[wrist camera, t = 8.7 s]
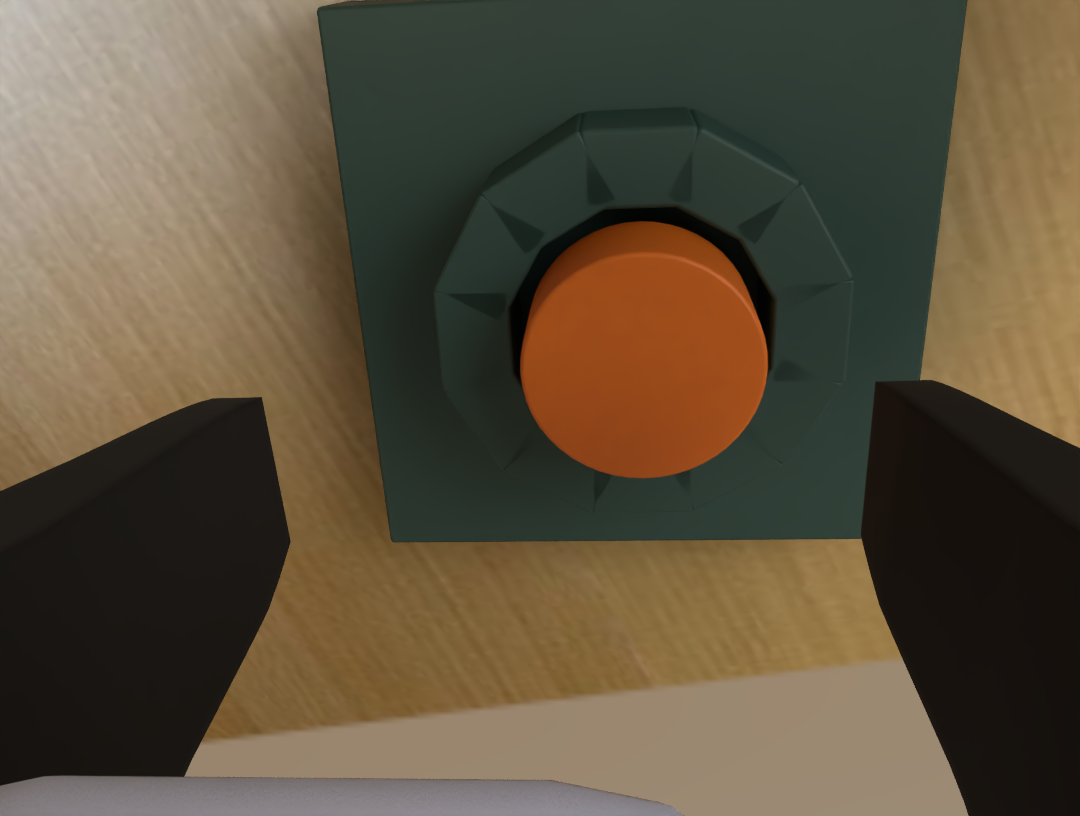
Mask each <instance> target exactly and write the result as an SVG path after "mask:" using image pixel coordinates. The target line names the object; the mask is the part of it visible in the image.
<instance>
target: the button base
mask: <svg viewBox="0 0 1080 816" xmlns="http://www.w3.org/2000/svg"><path fill="white" fill-rule="evenodd" d="M966 7H967V0H366V1H348V2H341V3H336V4H332V5H327V6H322V7H320V8H318V10H317V16H318V23H319V30H320V37H321V45H322V52H323V59H324V66H325V73H326V80H327V87H328V95H329V102H330V109H331V116H332V123H333V130H334V137H335V145H336V152H337V159H338V166H339V173H340V180H341V187H342V195H343V202H344V209H345V216H346V223H347V230H348V237H349V245H350V252H351V259H352V266H353V273H354V280H355V287H356V295H357V302H358V309H359V316H360V323H361V330H362V337H363V345H364V352H365V359H366V366H367V373H368V380H369V387H370V395H371V402H372V409H373V416H374V423H375V430H376V437H377V444H378V452H379V459H380V466H381V473H382V480H383V487H384V494H385V502H386V509H387V516H388V523H389V530H390V537H391V541H392V542H507V541H637V540H767V539H862V538H861V525H862V515H863V505H864V494H865V484H866V474H867V463H868V453H869V443H870V433H871V422H872V412H873V402H874V392H875V382H876V381H915V380H920V375H921V367H922V359H923V351H924V343H925V335H926V327H927V319H928V311H929V303H930V295H931V287H932V279H933V271H934V263H935V255H936V247H937V239H938V231H939V223H940V215H941V207H942V199H943V191H944V183H945V175H946V167H947V159H948V151H949V143H950V135H951V127H952V119H953V111H954V103H955V95H956V87H957V79H958V71H959V63H960V55H961V47H962V39H963V31H964V23H965V15H966ZM637 221H646V222H659V223H665V224H671V225H674V226H677V227H681V228H684V229H686V230H689V231H691V232H693V233H695V234H698V235H699V236H701V237H703V238H704V239H706V240H707V241H709V242H711V243H712V244H713V245H714V246H715V247H717V248H718V249H719V250H720V251H722V252H723V253H724V255H725V256H726V257H727V258H728V259H729V260H730V261H731V262H732V264H733V265H734V266H735V268H736V269H737V271H738V272H739V274H740V275H741V277H742V280H743V282H744V284H745V286H746V288H747V290H748V293H749V295H750V298H751V300H752V303H753V306H754V308H755V311H756V313H757V316H758V318H759V321H760V323H761V326H762V330H763V333H764V336H765V340H766V346H767V352H768V371H767V379H766V385H765V388H764V392H763V396H762V399H761V401H760V403H759V406H758V408H757V410H756V412H755V414H754V415H753V417H752V419H751V421H750V422H749V424H748V425H747V426H746V428H745V429H744V430H743V431H742V433H741V434H740V435H739V436H738V437H737V438H736V439H735V440H734V441H733V442H732V443H731V444H730V445H729V446H728V447H727V448H726V449H724V450H723V451H722V452H721V453H719V454H718V455H717V456H715V457H713V458H712V459H710V460H708V461H707V462H705V463H703V464H701V465H699V466H697V467H694V468H692V469H690V470H687V471H684V472H681V473H677V474H674V475H669V476H663V477H656V478H628V477H621V476H615V475H611V474H607V473H604V472H600V471H597V470H595V469H593V468H590V467H588V466H585V465H584V464H582V463H580V462H578V461H576V460H575V459H573V458H571V457H570V456H569V455H567V454H566V453H565V452H563V451H562V450H560V449H559V448H558V447H557V446H556V445H555V444H554V443H553V442H552V441H551V440H550V439H549V438H548V437H547V436H546V434H545V433H544V432H543V431H542V429H541V428H540V427H539V425H538V424H537V422H536V420H535V419H534V417H533V415H532V413H531V411H530V409H529V407H528V404H527V402H526V399H525V395H524V392H523V388H522V382H521V374H520V358H521V351H522V344H523V339H524V335H525V331H526V326H527V322H528V317H529V313H530V308H531V305H532V301H533V298H534V294H535V292H536V290H537V287H538V285H539V283H540V281H541V279H542V278H543V276H544V274H545V273H546V271H547V270H548V268H549V267H550V266H551V265H552V263H553V262H554V261H555V260H556V259H557V257H558V256H559V255H561V254H562V253H563V252H564V251H565V250H566V249H567V248H568V247H570V246H571V245H572V244H574V243H575V242H577V241H578V240H580V239H581V238H583V237H585V236H587V235H589V234H591V233H592V232H594V231H597V230H600V229H603V228H605V227H608V226H612V225H616V224H621V223H627V222H637Z"/></svg>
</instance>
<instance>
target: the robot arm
mask: <svg viewBox="0 0 1080 816" xmlns="http://www.w3.org/2000/svg"><path fill="white" fill-rule="evenodd" d="M861 538H862V542H863V546H864V550H865V554H866V558H867V562H868V566H869V570H870V573H871V577H872V580H873V584H874V588H875V591H876V595H877V598H878V602H879V605H880V607H881V610H882V612H883V614H884V617H885V619H886V622H887V624H888V626H889V629H890V631H891V633H892V635H893V638H894V640H895V642H896V645H897V647H898V649H899V652H900V654H901V656H902V658H903V661H904V663H905V665H906V667H907V670H908V672H909V674H910V676H911V679H912V681H913V683H914V685H915V688H916V690H917V692H918V694H919V697H920V699H921V701H922V703H923V706H924V708H925V710H926V712H927V714H928V717H929V719H930V721H931V723H932V726H933V728H934V730H935V733H936V735H937V737H938V739H939V742H940V744H941V746H942V748H943V751H944V753H945V755H946V757H947V760H948V762H949V764H950V767H951V769H952V772H953V774H954V777H955V779H956V782H957V785H958V787H959V789H960V792H961V795H962V798H963V800H964V803H965V806H966V809H967V812H968V815H969V816H1080V448H1078V447H1076V446H1074V445H1072V444H1070V443H1068V442H1065V441H1063V440H1061V439H1059V438H1057V437H1055V436H1053V435H1051V434H1049V433H1047V432H1045V431H1042V430H1040V429H1038V428H1036V427H1034V426H1032V425H1030V424H1028V423H1026V422H1024V421H1022V420H1020V419H1018V418H1016V417H1014V416H1012V415H1010V414H1008V413H1006V412H1004V411H1002V410H1000V409H998V408H996V407H994V406H992V405H990V404H988V403H985V402H983V401H981V400H979V399H977V398H975V397H973V396H971V395H969V394H966V393H964V392H962V391H960V390H958V389H955V388H953V387H950V386H948V385H945V384H943V383H939V382H936V381H933V380H915V381H876V382H875V392H874V402H873V412H872V422H871V433H870V443H869V453H868V463H867V474H866V484H865V494H864V505H863V515H862V525H861ZM290 542H291V541H290V536H289V531H288V526H287V521H286V516H285V511H284V506H283V501H282V496H281V491H280V486H279V481H278V476H277V471H276V466H275V461H274V456H273V451H272V446H271V441H270V436H269V431H268V426H267V421H266V416H265V411H264V406H263V401H262V397H254V398H215V399H210V400H206V401H202V402H199V403H196V404H193V405H190V406H188V407H185V408H182V409H180V410H178V411H175V412H173V413H170V414H168V415H166V416H164V417H161V418H159V419H157V420H155V421H153V422H150V423H148V424H146V425H144V426H142V427H140V428H138V429H136V430H133V431H131V432H129V433H127V434H125V435H123V436H121V437H119V438H117V439H114V440H112V441H110V442H108V443H106V444H104V445H102V446H100V447H98V448H96V449H93V450H91V451H89V452H87V453H85V454H83V455H81V456H79V457H77V458H74V459H72V460H70V461H68V462H66V463H63V464H61V465H59V466H56V467H54V468H52V469H50V470H47V471H45V472H43V473H41V474H38V475H36V476H34V477H31V478H29V479H27V480H25V481H22V482H20V483H18V484H16V485H13V486H11V487H9V488H7V489H4V490H2V491H0V816H684V815H683V814H681V813H680V812H678V811H677V810H676V809H674V808H673V807H671V806H669V805H666V804H663V803H660V802H655V801H651V800H646V799H641V798H636V797H631V796H627V795H622V794H616V793H612V792H607V791H602V790H597V789H591V788H587V787H582V786H578V785H572V784H567V783H563V782H558V781H553V780H480V779H479V780H478V779H372V778H371V779H370V778H368V779H367V778H262V777H261V778H260V777H259V778H257V777H256V778H255V777H184V776H185V773H186V771H187V769H188V767H189V765H190V762H191V760H192V758H193V756H194V754H195V752H196V751H197V749H198V747H199V745H200V743H201V741H202V739H203V737H204V735H205V733H206V731H207V729H208V727H209V725H210V723H211V721H212V720H213V718H214V716H215V714H216V712H217V710H218V708H219V706H220V704H221V702H222V700H223V698H224V696H225V694H226V692H227V691H228V689H229V687H230V685H231V683H232V681H233V679H234V677H235V675H236V673H237V671H238V669H239V667H240V665H241V663H242V662H243V660H244V658H245V656H246V654H247V652H248V650H249V648H250V646H251V644H252V642H253V640H254V638H255V636H256V634H257V632H258V630H259V628H260V626H261V624H262V622H263V620H264V617H265V615H266V613H267V611H268V609H269V607H270V604H271V601H272V598H273V595H274V592H275V589H276V586H277V584H278V581H279V578H280V574H281V571H282V568H283V565H284V561H285V558H286V555H287V551H288V548H289V545H290Z"/></svg>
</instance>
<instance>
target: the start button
mask: <svg viewBox="0 0 1080 816" xmlns="http://www.w3.org/2000/svg"><path fill="white" fill-rule="evenodd" d="M767 371H768V352H767V346H766V340H765V336H764V333H763V330H762V326H761V323H760V321H759V318H758V316H757V313H756V311H755V308H754V306H753V303H752V300H751V298H750V295H749V293H748V290H747V288H746V286H745V284H744V282H743V280H742V277H741V275H740V274H739V272H738V271H737V269H736V268H735V266H734V265H733V264H732V262H731V261H730V260H729V259H728V258H727V257H726V256H725V255H724V253H723V252H722V251H720V250H719V249H718V248H717V247H715V246H714V245H713V244H712V243H711V242H709V241H707V240H706V239H704V238H703V237H701V236H699V235H698V234H695V233H693V232H691V231H689V230H686V229H684V228H681V227H677V226H674V225H671V224H665V223H659V222H646V221H637V222H627V223H621V224H616V225H612V226H608V227H605V228H603V229H600V230H597V231H594V232H592V233H591V234H589V235H587V236H585V237H583V238H581V239H580V240H578V241H577V242H575V243H574V244H572V245H571V246H570V247H568V248H567V249H566V250H565V251H564V252H563V253H562V254H561V255H559V256H558V257H557V259H556V260H555V261H554V262H553V263H552V265H551V266H550V267H549V268H548V270H547V271H546V273H545V274H544V276H543V278H542V279H541V281H540V283H539V285H538V287H537V290H536V292H535V294H534V298H533V301H532V305H531V308H530V313H529V317H528V322H527V326H526V331H525V335H524V339H523V344H522V351H521V358H520V374H521V382H522V388H523V392H524V395H525V399H526V402H527V404H528V407H529V409H530V411H531V413H532V415H533V417H534V419H535V420H536V422H537V424H538V425H539V427H540V428H541V429H542V431H543V432H544V433H545V434H546V436H547V437H548V438H549V439H550V440H551V441H552V442H553V443H554V444H555V445H556V446H557V447H558V448H559V449H560V450H562V451H563V452H565V453H566V454H567V455H569V456H570V457H571V458H573V459H575V460H576V461H578V462H580V463H582V464H584V465H585V466H588V467H590V468H593V469H595V470H597V471H600V472H604V473H607V474H611V475H615V476H621V477H628V478H656V477H663V476H669V475H674V474H677V473H681V472H684V471H687V470H690V469H692V468H694V467H697V466H699V465H701V464H703V463H705V462H707V461H708V460H710V459H712V458H713V457H715V456H717V455H718V454H719V453H721V452H722V451H723V450H724V449H726V448H727V447H728V446H729V445H730V444H731V443H732V442H733V441H734V440H735V439H736V438H737V437H738V436H739V435H740V434H741V433H742V431H743V430H744V429H745V428H746V426H747V425H748V424H749V422H750V421H751V419H752V417H753V415H754V414H755V412H756V410H757V408H758V406H759V403H760V401H761V399H762V396H763V392H764V388H765V385H766V379H767Z"/></svg>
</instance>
